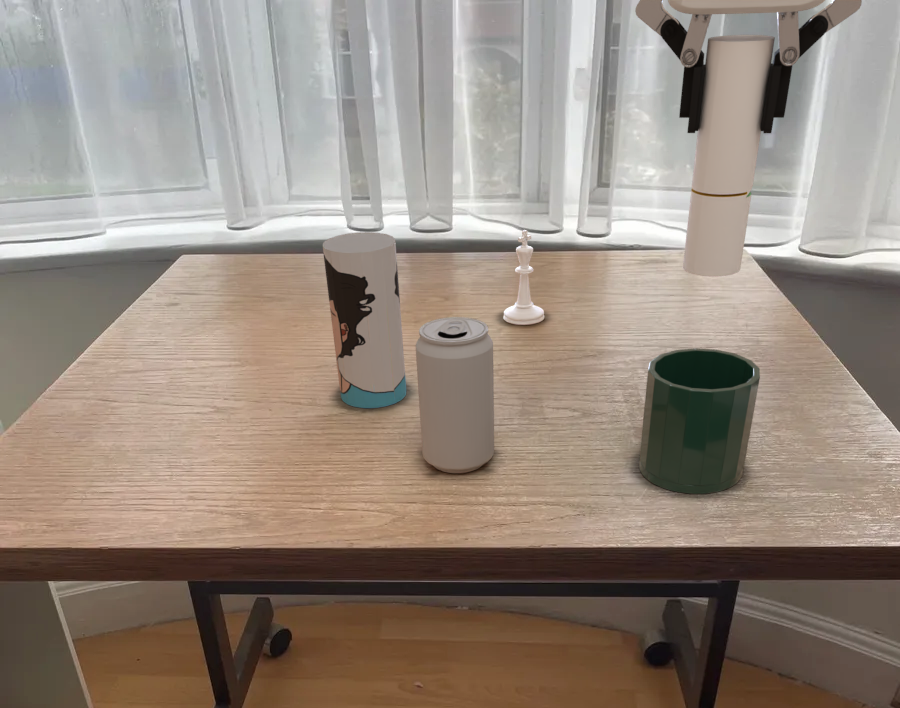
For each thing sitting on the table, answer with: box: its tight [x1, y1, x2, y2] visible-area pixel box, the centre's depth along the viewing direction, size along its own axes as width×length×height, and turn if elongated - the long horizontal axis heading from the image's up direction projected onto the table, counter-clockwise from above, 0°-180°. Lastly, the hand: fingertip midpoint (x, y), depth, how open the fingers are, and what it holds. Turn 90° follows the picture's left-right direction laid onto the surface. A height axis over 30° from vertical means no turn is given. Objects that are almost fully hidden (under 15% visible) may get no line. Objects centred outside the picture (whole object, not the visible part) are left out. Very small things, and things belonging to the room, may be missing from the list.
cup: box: [322, 231, 407, 409], centre depth 87 cm, size 7×7×15 cm
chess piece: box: [502, 229, 545, 326], centre depth 105 cm, size 5×5×10 cm
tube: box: [682, 34, 776, 278], centre depth 64 cm, size 4×4×15 cm
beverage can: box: [415, 316, 495, 474], centre depth 76 cm, size 6×6×12 cm
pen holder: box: [638, 347, 761, 495], centre depth 74 cm, size 9×9×9 cm
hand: (729, 126), depth 63 cm, fingers closed on tube, 4 cm apart
